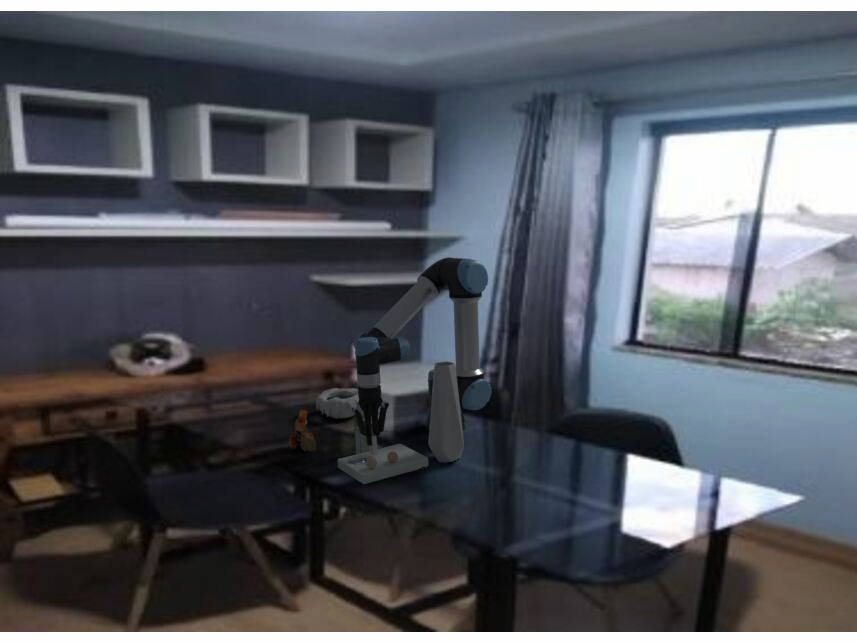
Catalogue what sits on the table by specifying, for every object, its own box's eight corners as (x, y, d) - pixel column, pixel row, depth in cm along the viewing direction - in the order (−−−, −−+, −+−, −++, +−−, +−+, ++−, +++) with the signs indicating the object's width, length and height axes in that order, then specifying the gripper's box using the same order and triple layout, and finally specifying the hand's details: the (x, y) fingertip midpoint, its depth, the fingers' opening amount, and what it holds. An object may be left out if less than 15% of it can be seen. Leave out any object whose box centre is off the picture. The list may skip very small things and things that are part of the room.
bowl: (365, 423, 304) (364, 398, 302) (313, 425, 305) (311, 400, 303) (370, 407, 325) (368, 384, 323) (321, 409, 325) (319, 386, 323)
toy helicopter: (310, 442, 284) (307, 406, 282) (327, 460, 266) (324, 421, 263) (288, 446, 281) (285, 410, 279) (303, 464, 262) (300, 425, 260)
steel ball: (363, 457, 258) (354, 457, 256) (368, 460, 255) (359, 460, 253) (362, 467, 258) (353, 468, 256) (367, 470, 255) (358, 471, 253)
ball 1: (374, 465, 250) (373, 455, 250) (379, 468, 248) (378, 458, 247) (364, 467, 249) (363, 457, 248) (369, 471, 246) (369, 460, 245)
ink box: (362, 457, 267) (359, 420, 264) (355, 454, 270) (353, 417, 267) (378, 452, 271) (376, 415, 269) (371, 449, 274) (369, 413, 272)
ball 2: (394, 459, 255) (394, 449, 254) (400, 462, 252) (399, 452, 252) (385, 461, 253) (384, 451, 253) (390, 464, 250) (390, 454, 250)
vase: (455, 468, 253) (451, 369, 247) (425, 462, 259) (420, 366, 253) (473, 456, 263) (470, 361, 257) (443, 451, 269) (440, 358, 263)
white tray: (400, 451, 271) (400, 443, 270) (428, 466, 256) (428, 457, 255) (338, 467, 258) (337, 459, 258) (363, 484, 243) (363, 475, 243)
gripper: (381, 379, 260) (385, 446, 264) (346, 386, 253) (350, 455, 258) (392, 383, 254) (396, 452, 258) (356, 391, 247) (361, 461, 251)
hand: (373, 453), depth 258 cm, fingers closed
